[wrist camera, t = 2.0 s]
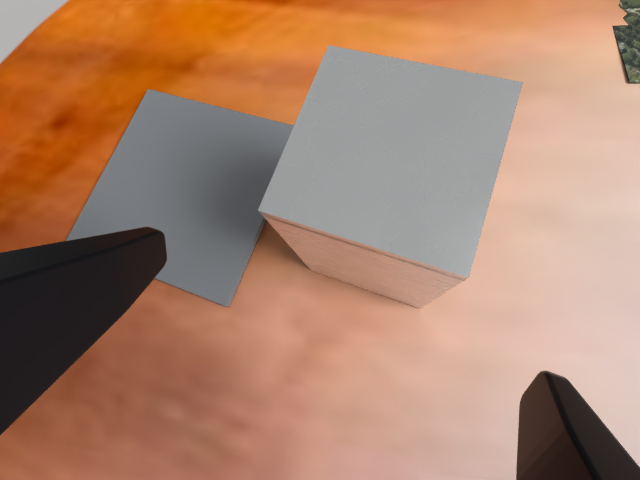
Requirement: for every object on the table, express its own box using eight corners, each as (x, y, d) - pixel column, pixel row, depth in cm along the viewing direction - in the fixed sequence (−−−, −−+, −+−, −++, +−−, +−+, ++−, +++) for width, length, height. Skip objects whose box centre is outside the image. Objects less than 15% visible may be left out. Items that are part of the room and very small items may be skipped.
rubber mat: (229, 307, 21) (225, 306, 20) (71, 244, 23) (64, 242, 23) (302, 132, 23) (301, 127, 23) (152, 93, 26) (148, 89, 25)
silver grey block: (420, 308, 19) (468, 277, 10) (311, 270, 20) (257, 210, 11) (452, 202, 20) (522, 82, 11) (347, 173, 22) (328, 45, 12)
